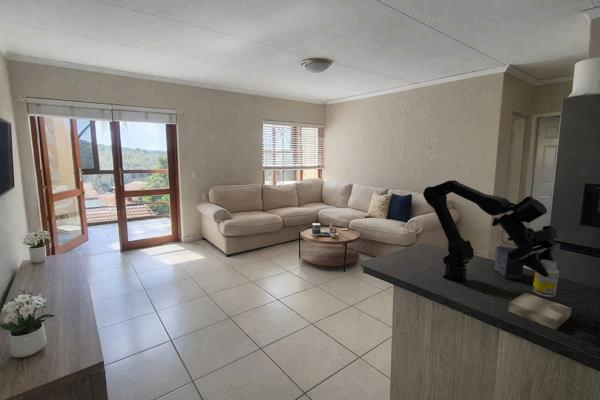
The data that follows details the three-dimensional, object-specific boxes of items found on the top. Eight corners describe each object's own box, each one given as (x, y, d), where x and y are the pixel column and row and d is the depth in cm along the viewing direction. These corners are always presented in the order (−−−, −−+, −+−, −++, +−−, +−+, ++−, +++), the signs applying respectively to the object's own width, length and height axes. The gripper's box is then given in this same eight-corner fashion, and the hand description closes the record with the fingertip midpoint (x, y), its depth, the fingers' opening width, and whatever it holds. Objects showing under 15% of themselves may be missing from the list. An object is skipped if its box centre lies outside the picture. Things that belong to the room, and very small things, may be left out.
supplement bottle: (537, 287, 96) (542, 257, 95) (558, 295, 91) (564, 263, 90) (528, 291, 94) (533, 260, 92) (549, 299, 89) (555, 266, 87)
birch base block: (508, 311, 95) (509, 302, 94) (524, 300, 101) (525, 292, 101) (555, 329, 85) (557, 320, 84) (570, 317, 91) (571, 307, 91)
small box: (523, 280, 117) (526, 255, 115) (504, 279, 118) (507, 254, 117) (510, 270, 127) (513, 246, 126) (493, 269, 129) (495, 245, 127)
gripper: (523, 220, 88) (564, 269, 80) (554, 214, 96) (593, 257, 89) (492, 239, 96) (526, 284, 88) (523, 231, 105) (556, 273, 97)
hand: (552, 274), depth 90 cm, fingers closed on supplement bottle, 6 cm apart
